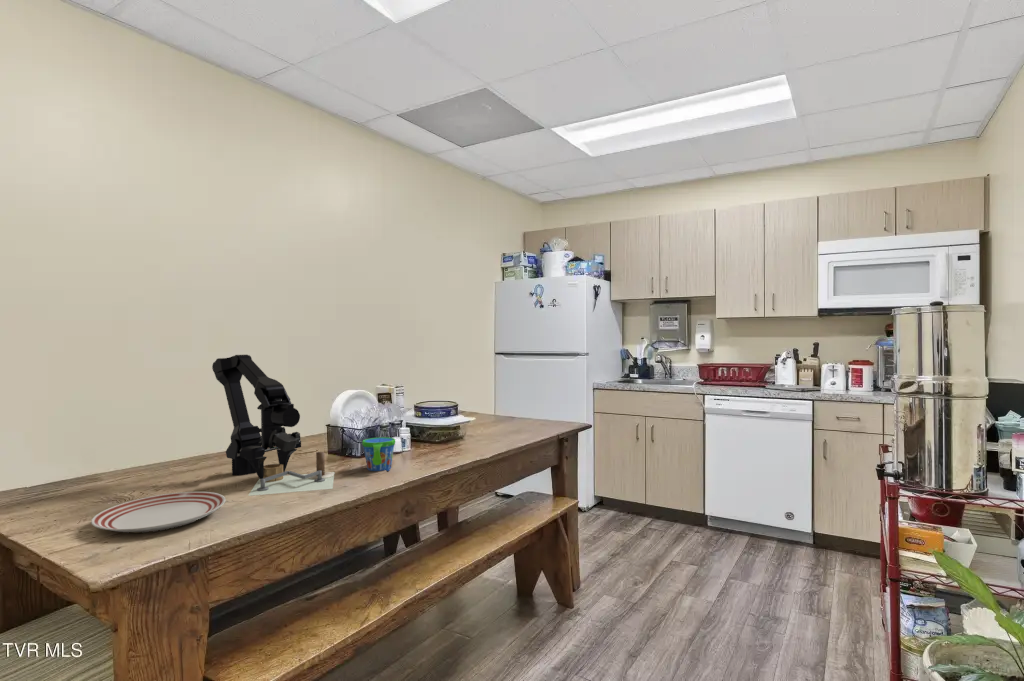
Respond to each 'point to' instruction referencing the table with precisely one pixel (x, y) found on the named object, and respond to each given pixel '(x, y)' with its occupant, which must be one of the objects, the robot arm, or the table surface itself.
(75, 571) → the table surface
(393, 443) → the snack cup
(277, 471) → the ring
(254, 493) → the wire course
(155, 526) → the dinner plate
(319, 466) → the peg stand
